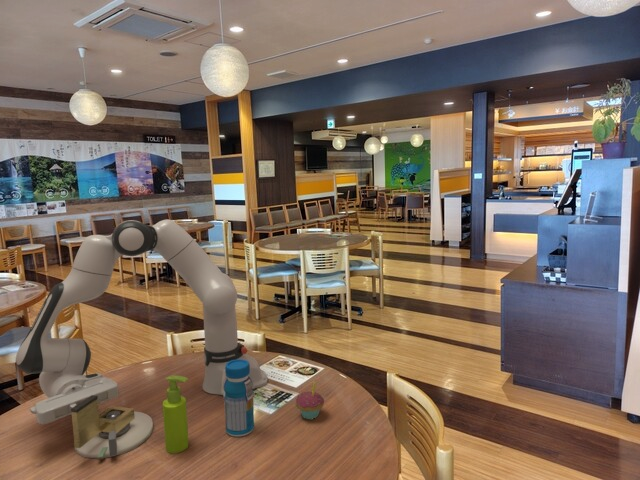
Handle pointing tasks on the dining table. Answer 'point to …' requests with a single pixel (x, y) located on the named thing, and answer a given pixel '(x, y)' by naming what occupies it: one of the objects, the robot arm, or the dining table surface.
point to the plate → (119, 439)
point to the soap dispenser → (175, 417)
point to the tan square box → (113, 416)
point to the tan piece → (96, 420)
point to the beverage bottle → (238, 398)
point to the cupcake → (309, 403)
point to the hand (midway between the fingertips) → (89, 410)
